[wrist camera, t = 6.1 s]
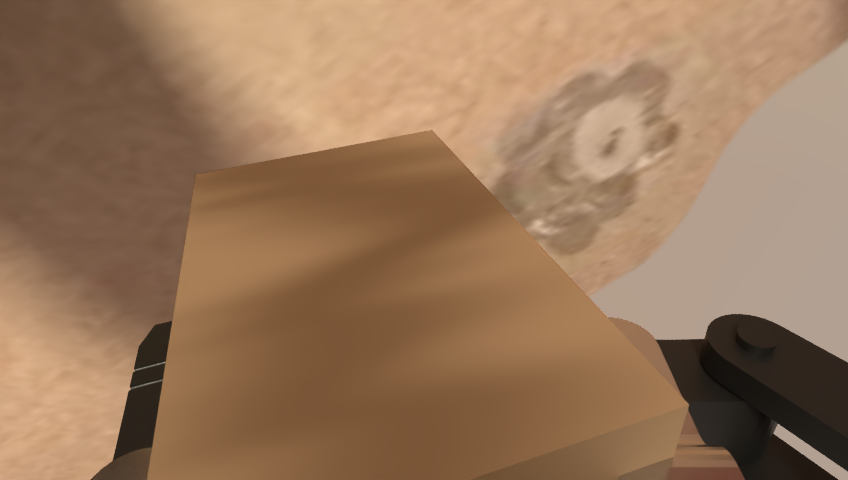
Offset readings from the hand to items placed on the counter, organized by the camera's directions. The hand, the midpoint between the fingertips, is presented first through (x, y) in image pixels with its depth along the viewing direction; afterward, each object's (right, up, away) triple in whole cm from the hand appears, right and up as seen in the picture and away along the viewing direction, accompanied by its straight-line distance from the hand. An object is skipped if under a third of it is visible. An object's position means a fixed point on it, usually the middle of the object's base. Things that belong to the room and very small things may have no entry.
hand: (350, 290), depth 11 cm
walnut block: (0, +1, +1) cm, 2 cm away
